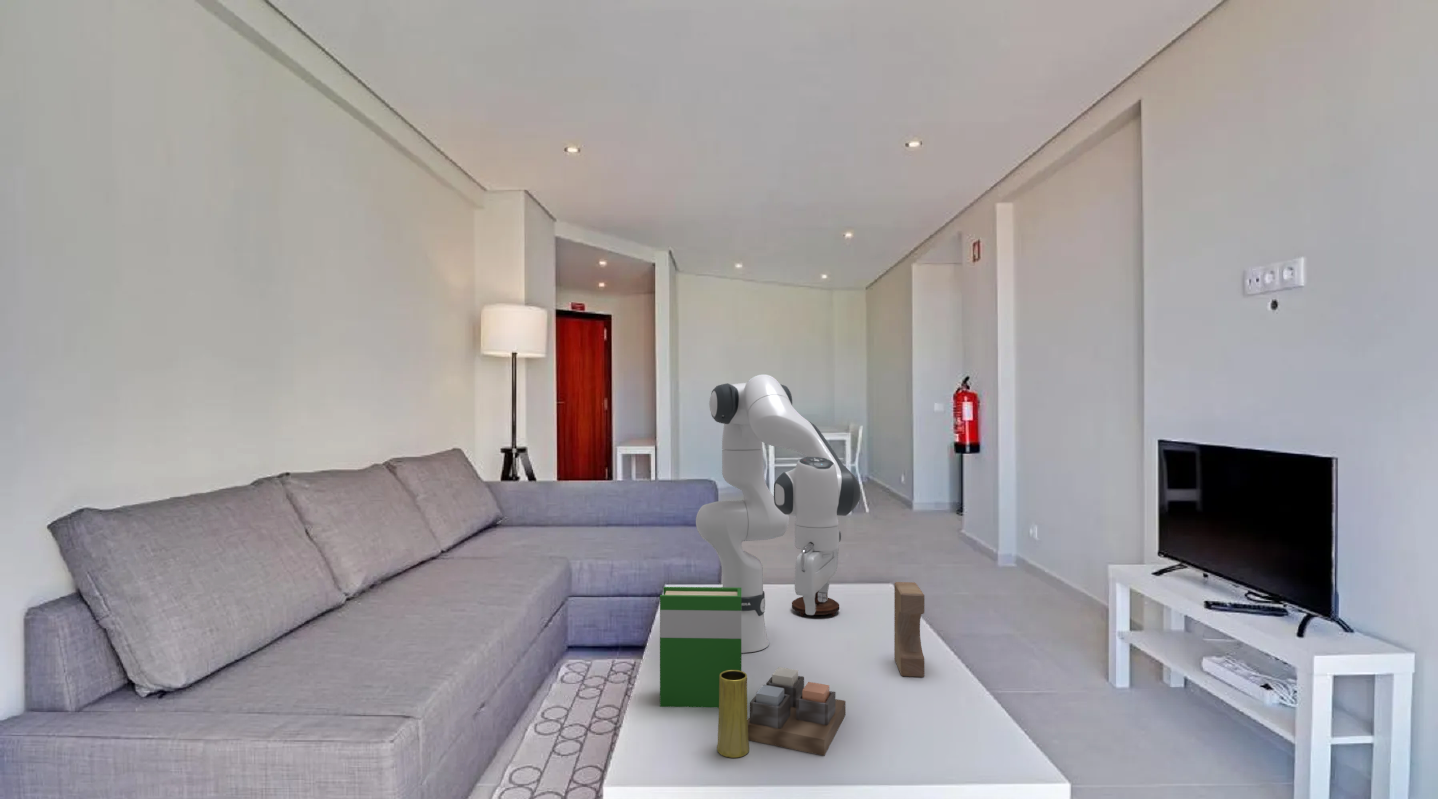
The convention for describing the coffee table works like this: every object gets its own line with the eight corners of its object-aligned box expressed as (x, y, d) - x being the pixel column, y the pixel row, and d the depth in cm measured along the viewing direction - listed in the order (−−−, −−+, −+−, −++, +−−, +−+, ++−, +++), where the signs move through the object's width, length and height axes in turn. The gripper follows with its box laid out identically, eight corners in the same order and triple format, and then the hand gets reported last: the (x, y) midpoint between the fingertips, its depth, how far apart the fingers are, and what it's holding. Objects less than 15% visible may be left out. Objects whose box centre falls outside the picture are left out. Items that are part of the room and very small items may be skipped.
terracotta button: (802, 706, 137) (802, 690, 137) (808, 697, 141) (808, 681, 141) (824, 710, 135) (824, 693, 135) (829, 700, 140) (829, 685, 140)
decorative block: (924, 678, 164) (924, 594, 164) (900, 676, 165) (900, 593, 165) (917, 660, 175) (917, 582, 175) (894, 659, 176) (894, 581, 176)
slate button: (756, 709, 136) (756, 693, 136) (763, 700, 140) (763, 684, 140) (777, 713, 134) (777, 697, 134) (784, 704, 138) (784, 688, 138)
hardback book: (659, 706, 149) (659, 596, 149) (663, 692, 156) (663, 586, 156) (741, 708, 148) (741, 597, 148) (741, 693, 156) (741, 587, 156)
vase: (715, 742, 133) (716, 669, 133) (747, 741, 134) (747, 668, 134) (718, 759, 127) (718, 682, 127) (751, 757, 128) (751, 681, 128)
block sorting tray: (744, 739, 135) (744, 703, 135) (773, 701, 151) (773, 670, 151) (824, 755, 128) (824, 718, 128) (845, 714, 145) (845, 681, 145)
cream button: (772, 689, 145) (772, 674, 145) (778, 681, 149) (778, 667, 149) (792, 693, 143) (792, 677, 143) (798, 685, 147) (798, 670, 147)
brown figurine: (842, 619, 208) (843, 553, 208) (794, 619, 208) (794, 553, 208) (835, 605, 222) (835, 543, 222) (789, 604, 223) (789, 543, 223)
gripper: (818, 549, 128) (819, 624, 128) (843, 531, 147) (843, 596, 146) (786, 547, 130) (786, 620, 130) (814, 529, 149) (814, 593, 149)
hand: (816, 607), depth 138 cm, fingers open, 8 cm apart
